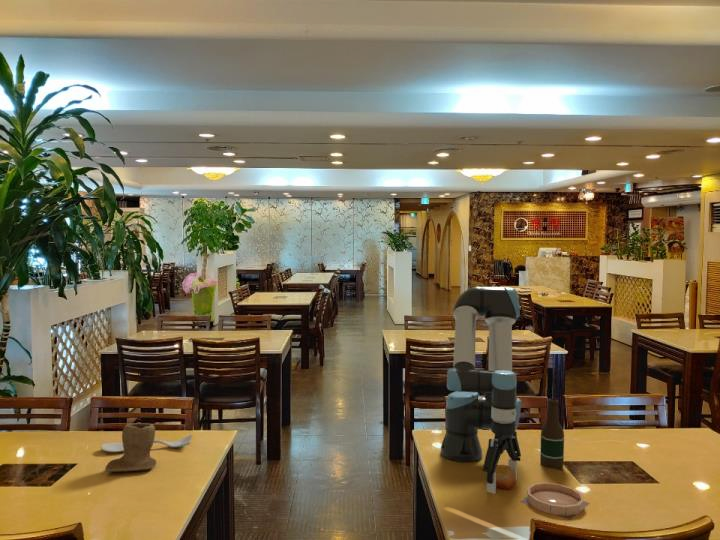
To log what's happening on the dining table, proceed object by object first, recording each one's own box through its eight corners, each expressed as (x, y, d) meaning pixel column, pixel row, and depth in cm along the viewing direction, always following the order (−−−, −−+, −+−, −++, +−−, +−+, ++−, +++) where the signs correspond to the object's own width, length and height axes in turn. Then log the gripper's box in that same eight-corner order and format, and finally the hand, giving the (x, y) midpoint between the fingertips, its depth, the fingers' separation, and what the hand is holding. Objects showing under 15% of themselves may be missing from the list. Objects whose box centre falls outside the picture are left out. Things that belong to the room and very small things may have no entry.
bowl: (517, 502, 154) (518, 493, 154) (541, 486, 166) (541, 478, 166) (570, 521, 144) (570, 512, 144) (591, 502, 155) (591, 494, 155)
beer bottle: (565, 472, 179) (567, 403, 178) (541, 470, 180) (543, 401, 180) (561, 463, 187) (562, 397, 186) (538, 461, 188) (540, 396, 188)
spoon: (190, 450, 195) (190, 441, 195) (97, 456, 188) (97, 447, 188) (192, 442, 204) (192, 433, 204) (104, 447, 197) (104, 438, 197)
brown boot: (159, 459, 186) (159, 418, 185) (153, 473, 174) (153, 429, 174) (113, 462, 182) (113, 420, 182) (104, 476, 171) (104, 431, 170)
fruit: (516, 478, 170) (515, 462, 166) (514, 499, 164) (514, 483, 160) (490, 474, 173) (490, 458, 169) (488, 495, 167) (487, 479, 163)
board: (520, 504, 155) (520, 501, 155) (540, 490, 165) (541, 487, 165) (570, 523, 144) (570, 519, 144) (589, 506, 155) (589, 503, 155)
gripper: (493, 431, 154) (492, 502, 154) (532, 414, 172) (531, 478, 172) (471, 425, 159) (470, 494, 160) (511, 410, 177) (510, 472, 177)
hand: (502, 486), depth 166 cm, fingers open, 13 cm apart
